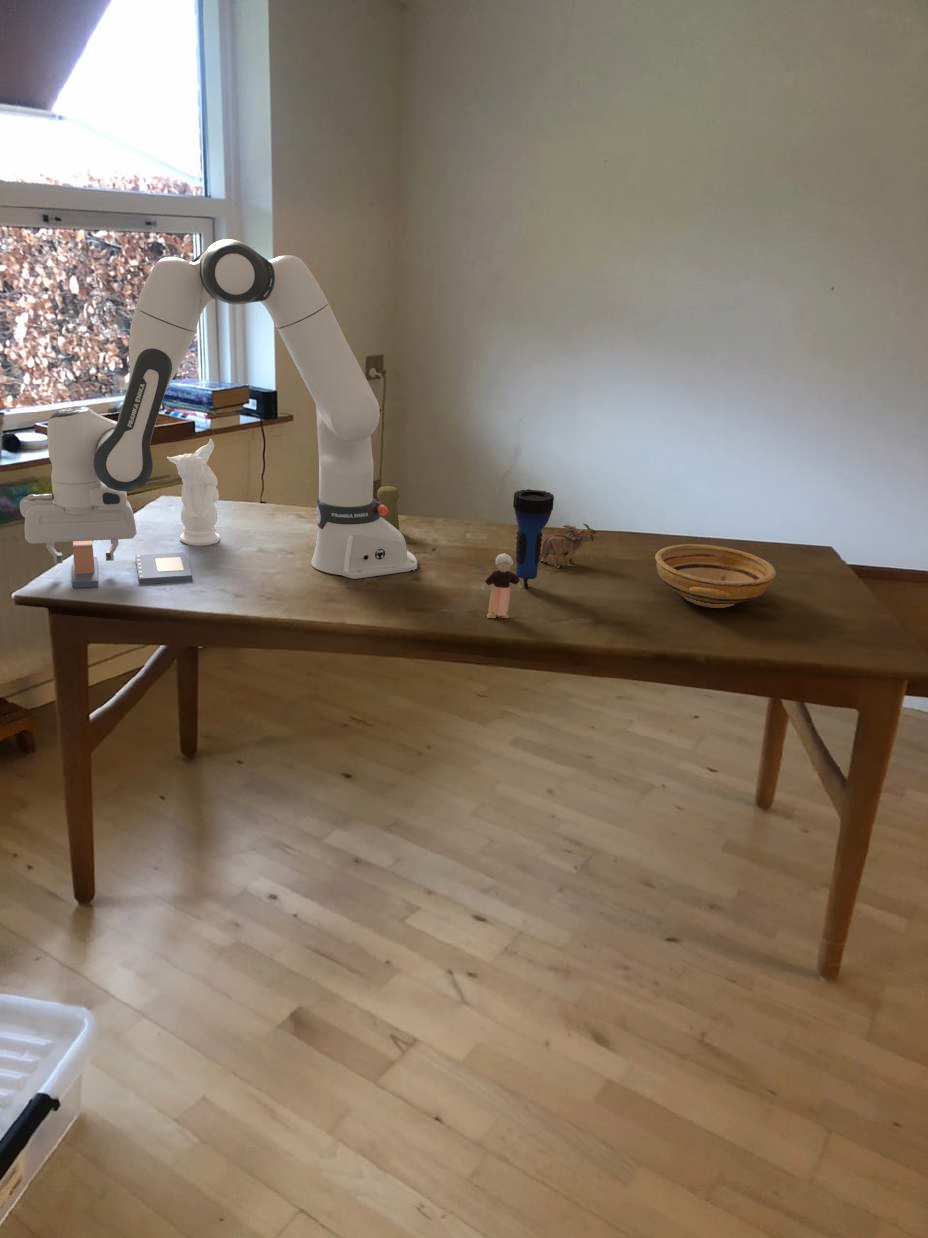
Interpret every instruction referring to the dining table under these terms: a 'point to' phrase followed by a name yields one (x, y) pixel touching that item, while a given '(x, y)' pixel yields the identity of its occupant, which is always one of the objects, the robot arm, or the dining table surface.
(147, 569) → the grey notebook
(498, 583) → the grandmother figurine
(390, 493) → the cork
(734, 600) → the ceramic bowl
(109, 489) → the robot arm
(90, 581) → the stub
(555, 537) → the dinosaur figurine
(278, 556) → the dining table surface
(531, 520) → the flashlight
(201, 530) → the white tall statuette
